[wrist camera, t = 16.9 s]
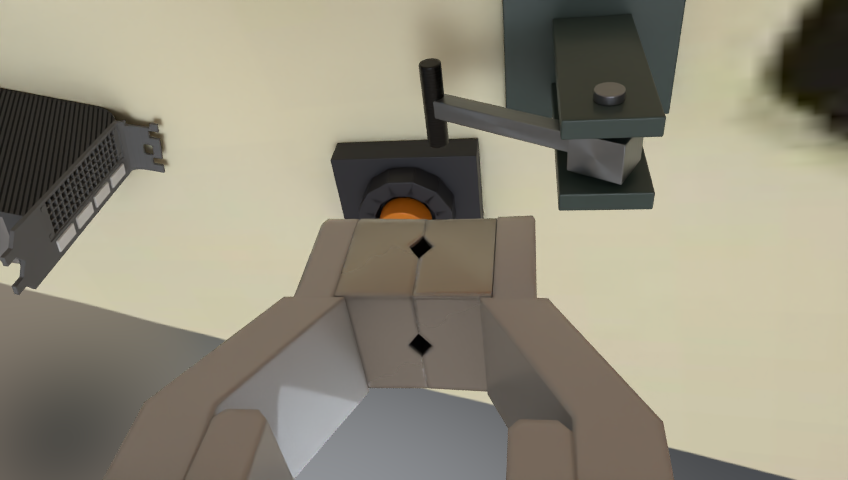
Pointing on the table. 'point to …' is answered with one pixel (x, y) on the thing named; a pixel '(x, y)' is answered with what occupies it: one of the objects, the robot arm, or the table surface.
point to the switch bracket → (594, 81)
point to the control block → (409, 177)
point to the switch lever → (523, 129)
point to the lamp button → (405, 209)
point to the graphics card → (59, 175)
